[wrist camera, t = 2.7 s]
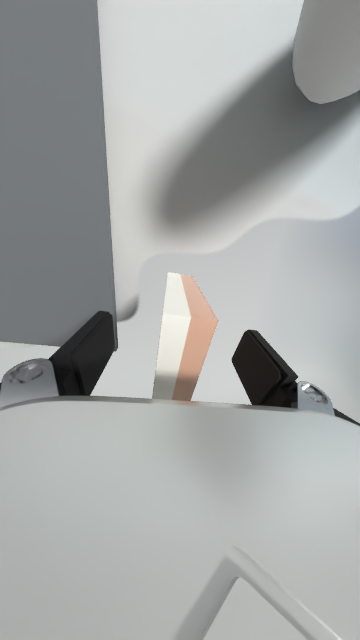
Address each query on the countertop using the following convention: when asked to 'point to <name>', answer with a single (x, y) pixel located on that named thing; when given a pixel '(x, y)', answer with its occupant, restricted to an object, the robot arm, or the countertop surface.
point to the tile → (182, 338)
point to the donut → (328, 50)
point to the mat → (52, 173)
